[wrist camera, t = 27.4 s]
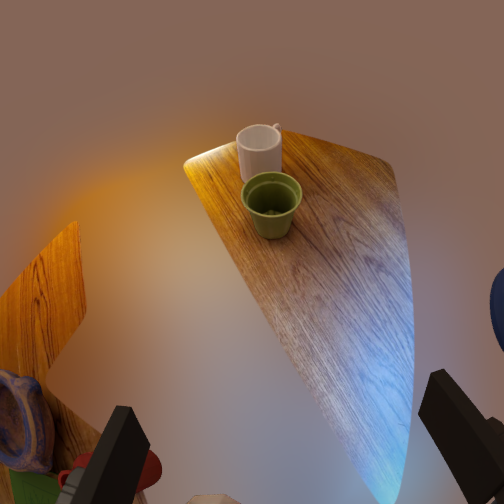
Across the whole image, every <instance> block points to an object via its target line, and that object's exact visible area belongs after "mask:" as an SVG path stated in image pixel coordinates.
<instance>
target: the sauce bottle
mask: <svg viewBox="0 0 504 504" xmlns="http://www.w3.org/2000/svg"><path fill="white" fill-rule="evenodd" d="M92 454H93V452H86V453H84V454H81V455H79V456H78V457H77V458H76V460H75V461H74V464H73V469H72V470H65V471H61V473H60V474H59V475H58V483H59V486H60V488H61V490H62V488H63V486H64V485H65V482H66V479H67V477H68V475H69V473H70V472H72V471H73V470H74V469H75V468H76V467H77V466H80V467H83V468H86V467H87V465H88V463H89V460H90V458H91V456H92ZM161 475H162V465H161V463H160V460H159V458H158V457H157V456H156V455H155V454H154V453H153V452H152V451H151V450H149V451H148V454H147V457H146V461H145V464H144V467H143V470H142V473H141V477H140V480H139V483H138V486H137V490H136V493H138V492H140V491H142V490H144V489H146V488H148V487H150V486H152V485H154V484H155V483H156V482H157V481H158V480H159V479H160V477H161ZM136 493H135V494H136Z"/></svg>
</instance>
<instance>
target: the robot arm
mask: <svg viewBox="0 0 504 504" xmlns="http://www.w3.org/2000/svg"><path fill="white" fill-rule="evenodd" d="M418 415H419V417H420V419H421V420H422V422H423V424H424V425H425V427H426V429H427V430H428V432H429V434H430V435H431V437H432V439H433V440H434V442H435V444H436V446H437V447H438V449H439V451H440V452H441V454H442V456H443V457H444V460H445V461H446V463H447V465H448V467H449V468H450V470H451V472H452V474H453V476H454V478H455V479H456V481H457V483H458V485H459V486H460V489H461V491H462V492H463V494H464V496H465V498H466V500H467V502H468V504H486V503H487V502H488V501H489V500H490V499H491V498H492V497H493V496H494V497H495V500H494V501H493V502H492V503H491V504H504V425H503V423H502V422H500V421H499V420H497V419H495V418H494V417H491V418H489V419H487V420H486V419H485V418H484V417H483V415H482V414H481V413H480V412H479V410H478V409H477V408H476V407H475V405H474V404H473V403H472V402H471V400H470V399H469V398H468V397H467V395H466V394H465V393H464V392H463V391H462V389H461V388H460V387H459V386H458V385H457V383H456V382H455V381H454V380H453V379H452V378H451V377H450V375H449V374H448V373H447V372H446V371H445V369H441V370H438V371H435V372H432V373H431V374H430V377H429V381H428V384H427V387H426V391H425V394H424V397H423V400H422V403H421V406H420V409H419V412H418ZM149 448H150V443H149V441H148V439H147V437H146V435H145V433H144V432H143V430H142V428H141V426H140V424H139V422H138V420H137V418H136V416H135V414H134V411H133V409H132V407H127V406H116V407H115V409H114V411H113V413H112V416H111V417H110V420H109V421H108V423H107V425H106V427H105V429H104V431H103V433H102V435H101V437H100V439H99V442H98V444H97V446H96V448H95V450H94V452H93V454H92V456H91V458H90V460H89V463H88V465H87V467H86V468H83V467H80V466H77V467H76V468H75V469H74V470H73V471H72V472H70V473H69V475H68V477H67V479H66V482H65V485H64V486H63V488H62V492H60V494H59V496H58V498H57V501H56V503H55V504H132V503H133V500H134V496H135V493H136V490H137V486H138V483H139V480H140V477H141V473H142V470H143V467H144V464H145V461H146V457H147V454H148V451H149Z"/></svg>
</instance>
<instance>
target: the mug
mask: <svg viewBox="0 0 504 504" xmlns="http://www.w3.org/2000/svg"><path fill="white" fill-rule="evenodd" d="M281 130H282V128H281V126H280V124H274V125H273V126H272V127H271V126H268V125H252V126H248V127H246V128H245V129H242V131H240V132H239V133H238V135H237V137H236V142H237V150H238V157H239V165H240V173H241V178H242V180H243V182H244V183H246V182H247V181H248V180H249V179H250V178H251V177H253V176H255V175H257V174H260V173H263V172H281V164H282V137H281Z"/></svg>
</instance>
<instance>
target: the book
mask: <svg viewBox="0 0 504 504" xmlns="http://www.w3.org/2000/svg"><path fill="white" fill-rule="evenodd" d="M9 472H10V479H11V485H12V490H13V495H14V500H15V504H55V503H56V501H57V498H58V496H59V494H60V492H62V490H61V488H60V486H59V483H58V475H59V474H58V473H55V472H52V471H49V472H48V473H47V474H37V473H34V472H29V471H28V472H16V471H14V470H11V469H9Z"/></svg>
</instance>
